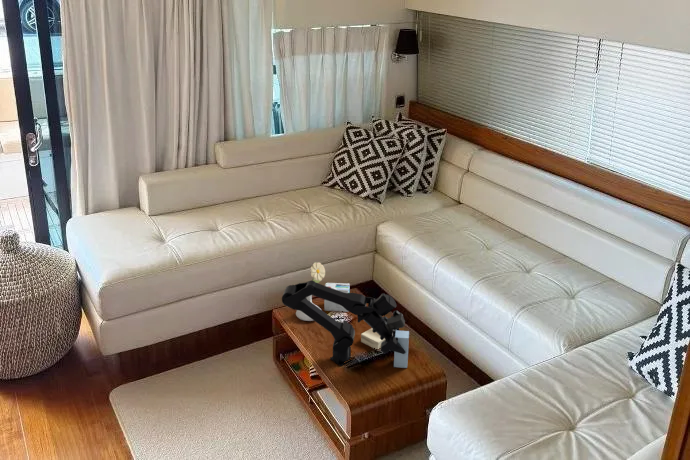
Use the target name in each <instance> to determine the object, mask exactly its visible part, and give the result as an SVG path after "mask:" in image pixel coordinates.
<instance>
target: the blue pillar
mask: <svg viewBox="0 0 690 460" xmlns="http://www.w3.org/2000/svg"><path fill="white" fill-rule="evenodd" d="M395 338H398V343H399V344H400V345H401V346H402V348H403V349H404V350H405V352H406V353H405V354H401V353H398V352H395V351H393V352H394V354H393V355H394V356H393V358H394V359H393V368H402V369H407V368H408V360H409V343H410V341H409V340H410V339H409V338H410V331H409V330H400V329H399V330H396V333H395Z"/></svg>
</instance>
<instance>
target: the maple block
mask: <svg viewBox="0 0 690 460" xmlns="http://www.w3.org/2000/svg"><path fill="white" fill-rule="evenodd" d="M372 330H373V329H372V328H369V329H368V330H366V331H364V332H362V333H361V334H360V343H363V344H364V345H366V346H368V347H371V348H372V349H374V348H375V349H374V350H376V349H379V348H381V343H382V342H383V341H384V340H385V338H384V339H383V340H381V339H380V335H379V334H378V333H377V332H375V333H374V332H373V331H372Z"/></svg>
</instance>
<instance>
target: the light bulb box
mask: <svg viewBox="0 0 690 460" xmlns="http://www.w3.org/2000/svg"><path fill="white" fill-rule="evenodd" d="M324 286H327V287H330V288H332V289H335V290H338V291H341V292H344V293H351V292H350V282H349V283H348V282H347V283H346V282H345V283H344V282H343V283H342V282H338V283H337V282H326V283H325V284H324ZM323 303H324V304H323V305H324V306H323V308H324V309H323V310H324V311H323V312H326V311H328V312H342V311H343V312H346V313H349V311H347V310H346V309H345V308H344V307H343V306H341V305H339V304H336V303H333V302H330V301H327V300H325V299H323Z"/></svg>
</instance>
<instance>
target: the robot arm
mask: <svg viewBox="0 0 690 460" xmlns="http://www.w3.org/2000/svg"><path fill="white" fill-rule="evenodd" d="M304 282H305V281H304ZM304 282H298V283H296V284H290V285H287V286H286V287H285V289H284V290H283V294H282V296H281V303H282V304H283V305H284V306H285V307H287V308H288V309H289V308H290V309H292V310H294V311H297V310H300V311H302V312H303V313H304V314H306V315H307V316H309V317H310V318H311V319H313V321H314V322H316V323H317V324H318V325H320V326H321V327H322V328H324V329H325V330H326V331H328V332H329V333H330V334H331V335H332V337H333V344H332V356H331V357H330V358H329V360H330V361H333V363H335V364H337V365H338V366H340V367H341V366H344V365H345V364H344V362H345V361H347V360H349V359H350V358H353V357H351V356H352V347H351V346H353V344H354V341H355V336H356V330H355V327H353V324H350V323H349V322H348V321H347V320H345V319H343V321H342V322H341V321H337V320H336V319H335V318H333V317H331V316H330V315H329V314H328V313H326V311H323V310H322V308H321V309H319V308H320V307H319V306H318V305H316V304H315V303H313V302H312V303H311V302H310V301H308V300H307V298H306V297H308V296H310V295H312V296H314V297H317V298H319V299H322V300H324V299H325V300H327V301H330V302H333V303H336V304H339V305H341V306H343V307H344V308H345V309H346V310H347V311H348V313H351V314H353V315H355V316H356V317H357V323H361V322H362V321H363V322H365V323H366V324H367V325H368V326H369V327H371V328H372V329H373V330H372V331H373V332H374V333H375V332H377V333H378V334H379V335H380V339H381V340H383V339H384V338H385V340H384V341H383V342H382V343H381V349H380V352H381V353H382V354H384V355H386V354H388V353H389V352H394V351H395V352H398V353H401V354H405V353H406V352H405V350H404V349H403V348H402V346H401V345H400V344H399V343H398V338H395V333H396V330H399V331H400V329H402V328H404V327H405V326H406V324H405V322H406V320H405V318H404V314H403V313H402V312H399V311H398V310H394V309H395V308H396V307H397V303H396V300H395V298H393V296H391V295H389V294H385V292H383V293H381V294H380V296H379V297H377V298H374V297H371V296H365V295H363V294H361V293H356V292H350V293H344V292H341V291H338V290H335V289H332V288H330V287H327V286H325V284H321V283H316V282H315V281H312V280H309V281H306V282H305V283H304ZM314 304H315V305H316V306H315V305H314ZM317 306H318V307H319V308H318V307H317ZM393 310H394V311H393ZM392 311H393V312H392ZM391 312H392V315H391V316H390V317H387V314H389V313H391ZM371 328H370V329H371ZM343 364H344V365H343Z"/></svg>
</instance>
